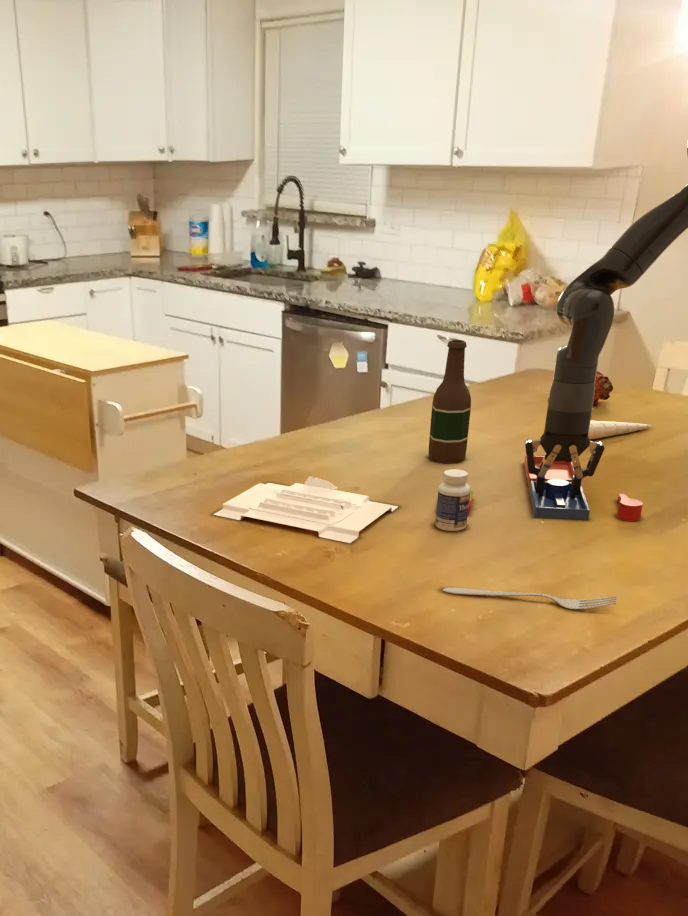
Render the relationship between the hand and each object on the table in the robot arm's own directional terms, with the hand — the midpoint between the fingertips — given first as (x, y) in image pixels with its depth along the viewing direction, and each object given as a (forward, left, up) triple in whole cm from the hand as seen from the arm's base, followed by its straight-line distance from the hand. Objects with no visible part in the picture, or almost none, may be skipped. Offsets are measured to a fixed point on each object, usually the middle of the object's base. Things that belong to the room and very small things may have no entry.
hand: (556, 495), depth 176 cm
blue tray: (0, +3, -1) cm, 3 cm away
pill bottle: (+19, +17, -1) cm, 25 cm away
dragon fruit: (-13, -71, -1) cm, 72 cm away
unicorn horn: (-14, -43, -1) cm, 45 cm away
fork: (+8, +45, -1) cm, 46 cm away
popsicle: (+18, +4, -1) cm, 19 cm away
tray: (+45, +13, -1) cm, 47 cm away
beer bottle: (+20, -22, -1) cm, 30 cm away
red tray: (0, -13, -1) cm, 13 cm away
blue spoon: (0, +3, 0) cm, 3 cm away
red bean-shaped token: (-11, +5, -1) cm, 12 cm away
